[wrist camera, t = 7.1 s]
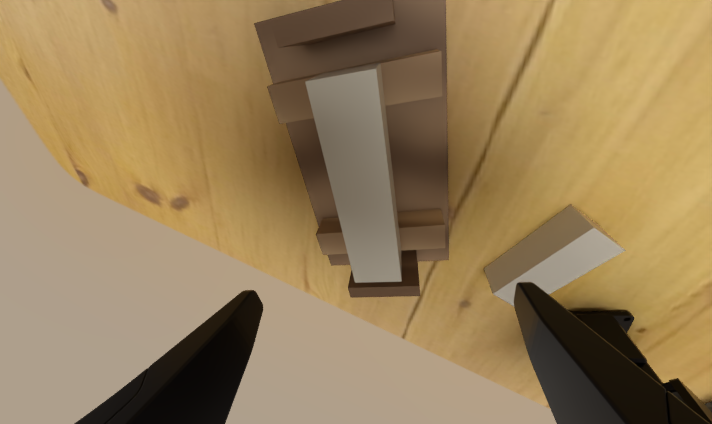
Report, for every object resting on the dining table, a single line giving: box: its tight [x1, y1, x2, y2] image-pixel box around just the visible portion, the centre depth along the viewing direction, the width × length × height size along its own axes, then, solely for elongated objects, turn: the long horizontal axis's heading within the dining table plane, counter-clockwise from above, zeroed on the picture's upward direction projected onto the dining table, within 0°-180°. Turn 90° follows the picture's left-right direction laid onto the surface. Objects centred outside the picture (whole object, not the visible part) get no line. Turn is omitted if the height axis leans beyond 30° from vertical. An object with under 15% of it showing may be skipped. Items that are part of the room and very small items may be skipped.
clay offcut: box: [484, 204, 626, 306], centre depth 20 cm, size 3×8×3 cm, turn 149°
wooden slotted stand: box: [254, 0, 449, 297], centre depth 17 cm, size 18×10×5 cm, turn 11°
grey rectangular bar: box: [305, 63, 402, 283], centre depth 15 cm, size 12×3×3 cm, turn 10°
